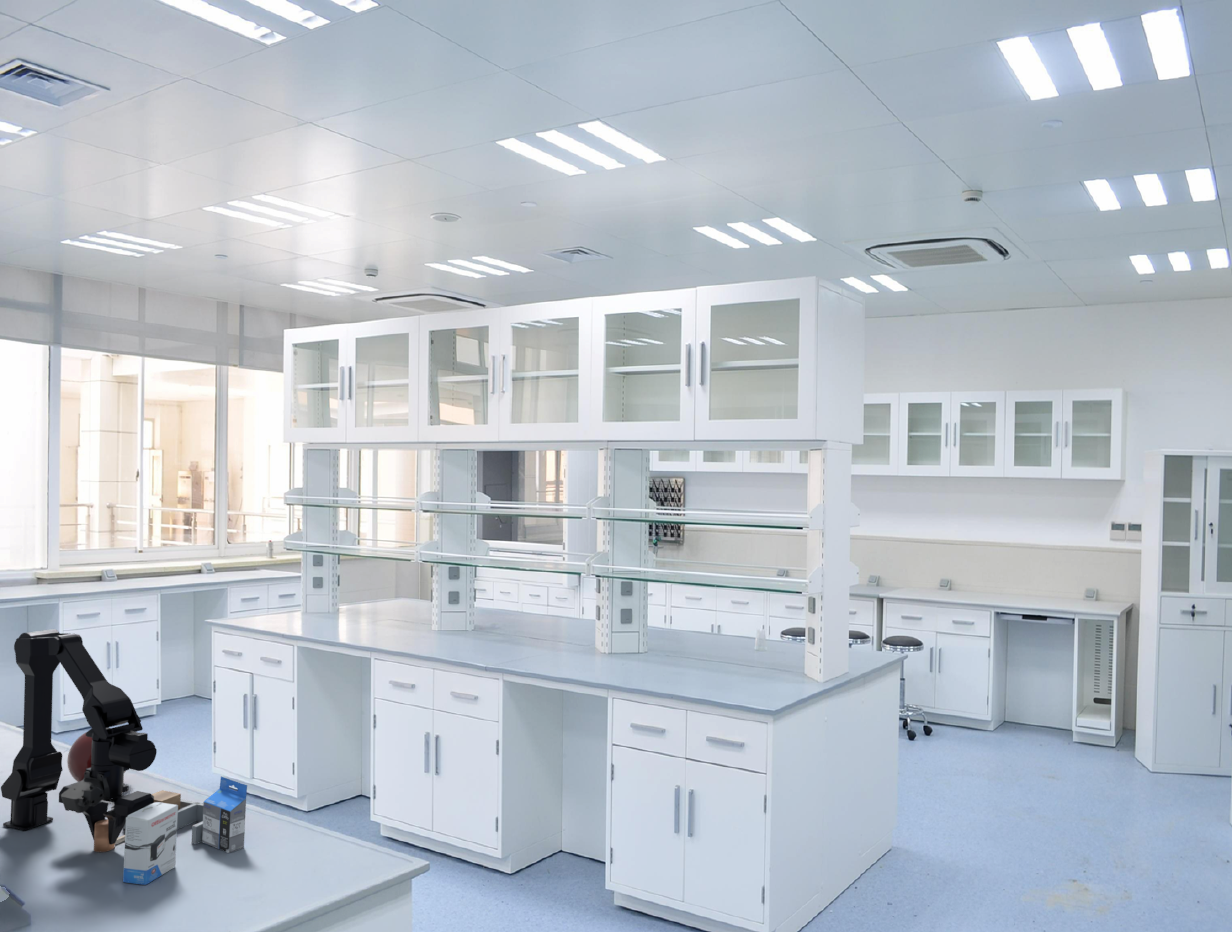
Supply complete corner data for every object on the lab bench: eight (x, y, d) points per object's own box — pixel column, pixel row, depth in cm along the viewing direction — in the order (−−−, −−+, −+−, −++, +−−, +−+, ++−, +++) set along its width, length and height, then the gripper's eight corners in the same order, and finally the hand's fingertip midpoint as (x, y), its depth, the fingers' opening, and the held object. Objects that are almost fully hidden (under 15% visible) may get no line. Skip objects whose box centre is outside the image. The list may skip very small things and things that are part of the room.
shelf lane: (122, 828, 192) (123, 811, 192) (163, 812, 202) (164, 795, 202) (195, 844, 186) (196, 826, 186) (233, 826, 195) (234, 809, 195)
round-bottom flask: (111, 796, 210) (115, 707, 211) (53, 793, 210) (57, 704, 211) (141, 777, 223) (145, 693, 224) (87, 775, 224) (90, 691, 224)
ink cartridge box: (200, 842, 186) (203, 780, 187) (218, 836, 190) (220, 775, 190) (228, 853, 182) (230, 790, 182) (245, 847, 185) (248, 784, 185)
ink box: (145, 885, 167) (148, 819, 167) (121, 882, 168) (124, 816, 168) (177, 866, 175) (179, 803, 175) (153, 863, 176) (156, 800, 176)
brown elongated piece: (86, 849, 181) (87, 818, 181) (161, 818, 198) (162, 790, 198) (106, 853, 180) (107, 822, 180) (179, 822, 197) (180, 793, 197)
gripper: (34, 766, 178) (31, 848, 178) (108, 780, 171) (105, 866, 171) (85, 750, 188) (82, 828, 188) (157, 763, 182) (154, 844, 182)
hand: (104, 841), depth 182 cm, fingers closed on brown elongated piece, 4 cm apart
